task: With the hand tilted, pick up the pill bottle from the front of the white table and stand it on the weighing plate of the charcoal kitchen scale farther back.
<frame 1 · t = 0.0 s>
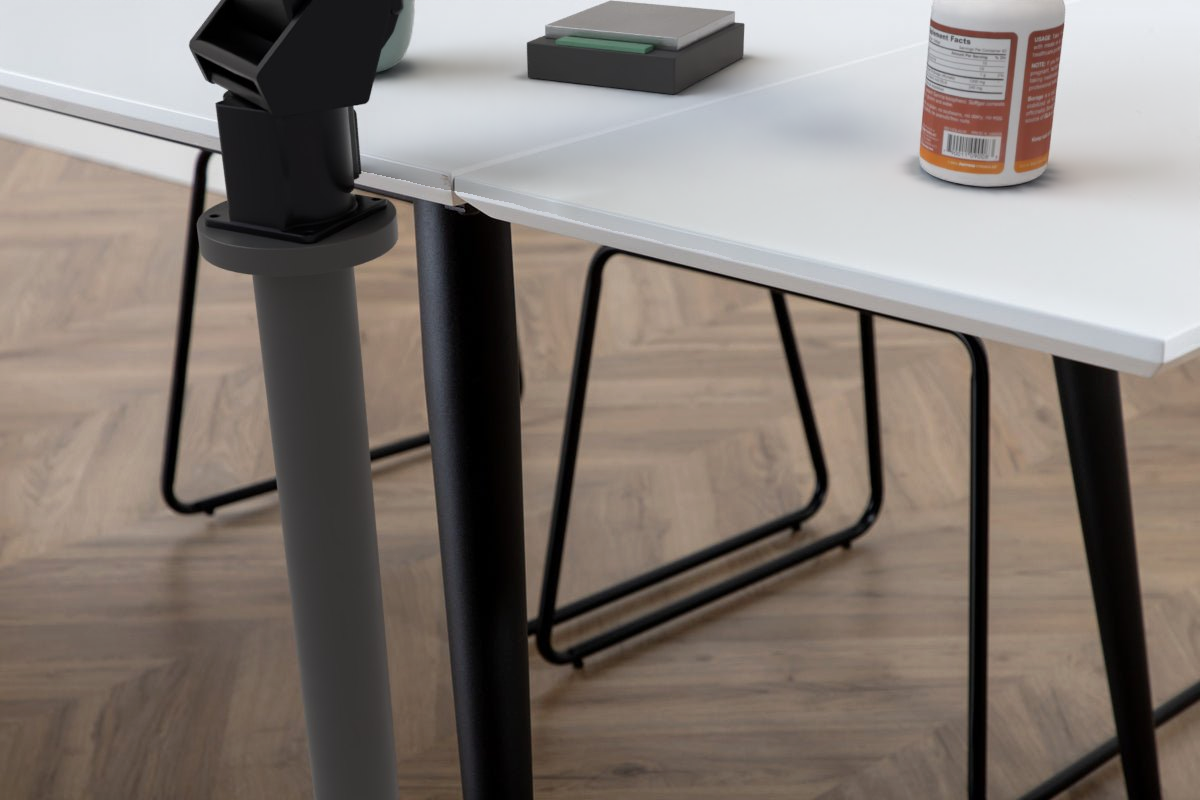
kitchen scale: (638, 67, 93), on the table
cup: (357, 71, 93), on the table
pill bottle: (980, 174, 72), on the table
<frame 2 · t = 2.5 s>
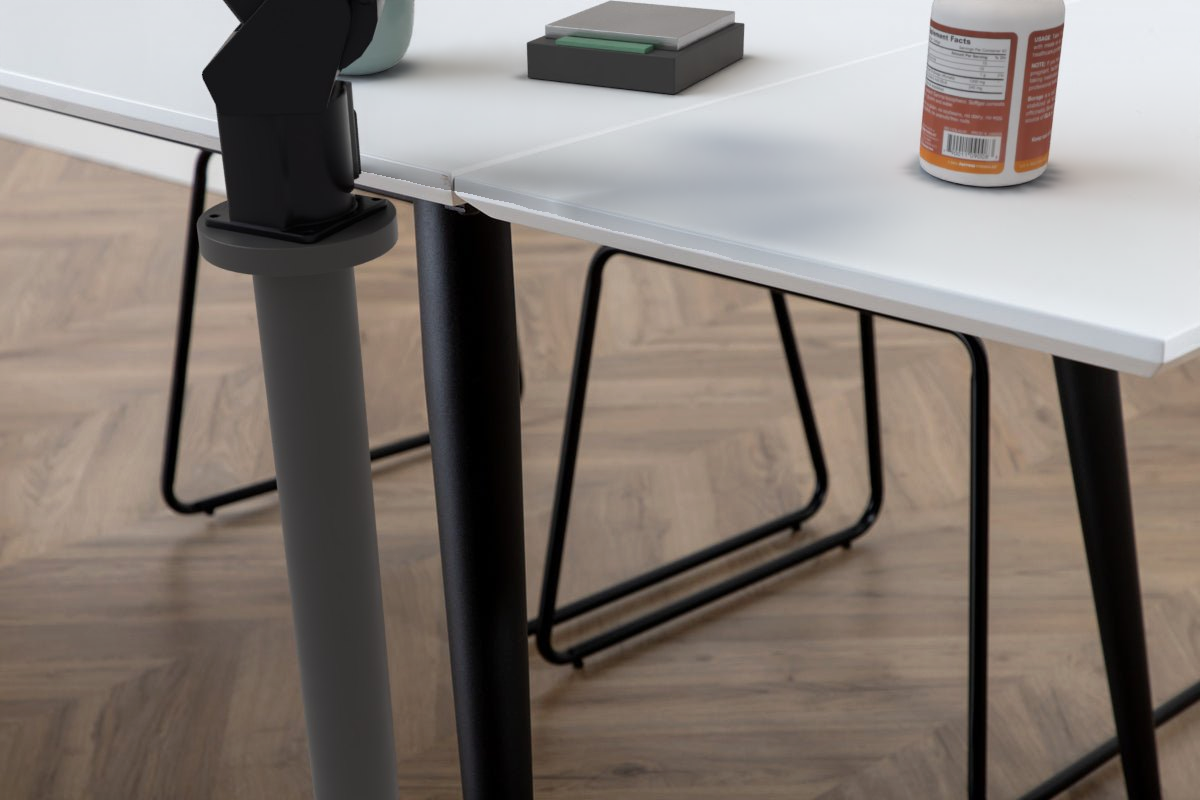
nothing on the table moved.
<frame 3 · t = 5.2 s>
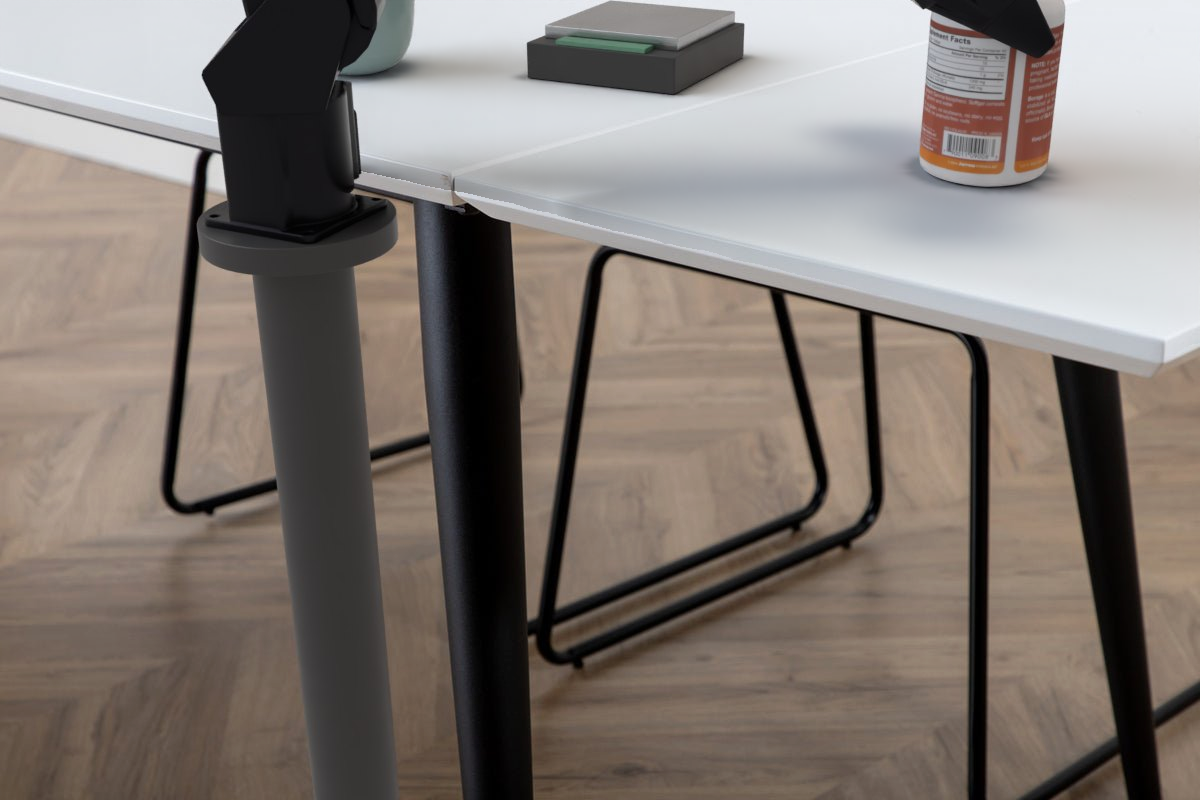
hand: (1024, 36, 69), 7 cm above the table, tool tilted 45°, fingers closed on pill bottle, 6 cm apart
pill bottle: (980, 174, 72), on the table, touching gripper
everything else where it was.
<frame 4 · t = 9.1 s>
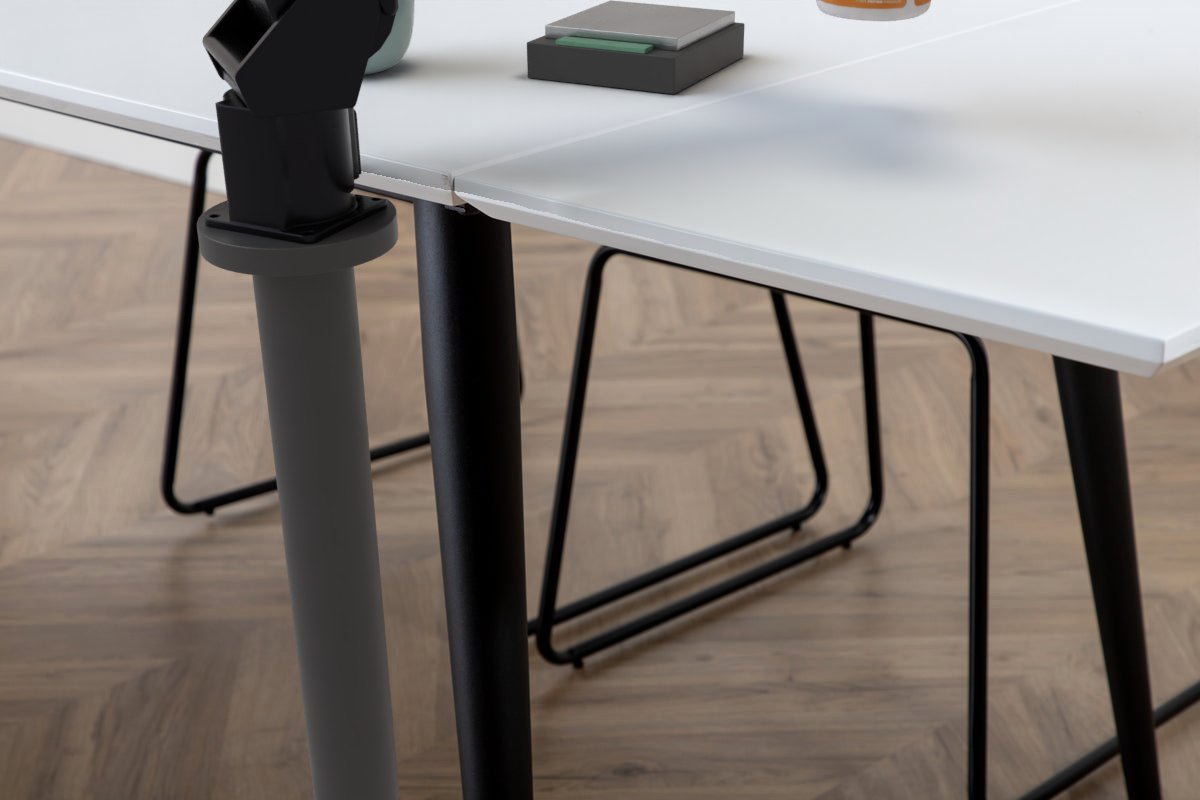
pill bottle: (871, 16, 79), point 6 cm above the table, touching gripper
everything else where it was.
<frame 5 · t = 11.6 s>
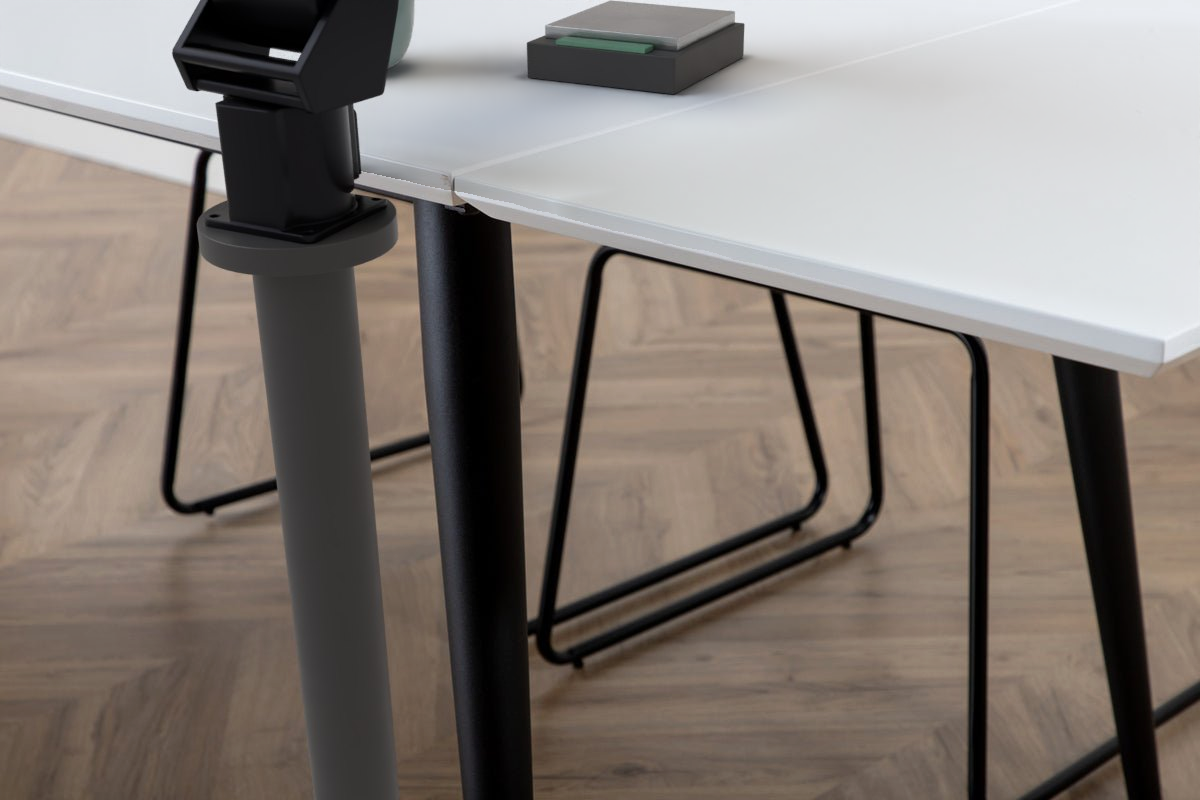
when the fingers open (10 cm above the table, at t = 13.3 s): pill bottle stays where it is, resting on kitchen scale.
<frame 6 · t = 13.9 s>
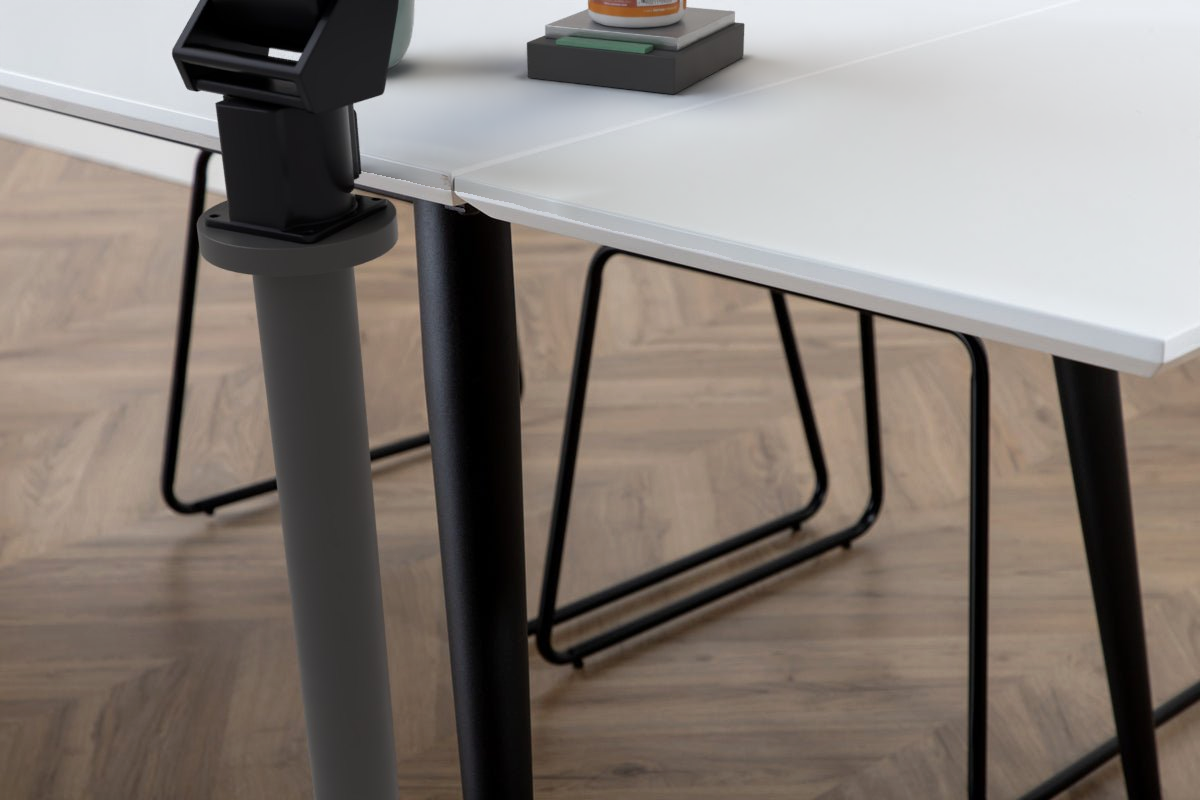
pill bottle: (637, 22, 92), point 3 cm above the table, touching kitchen scale
everything else where it was.
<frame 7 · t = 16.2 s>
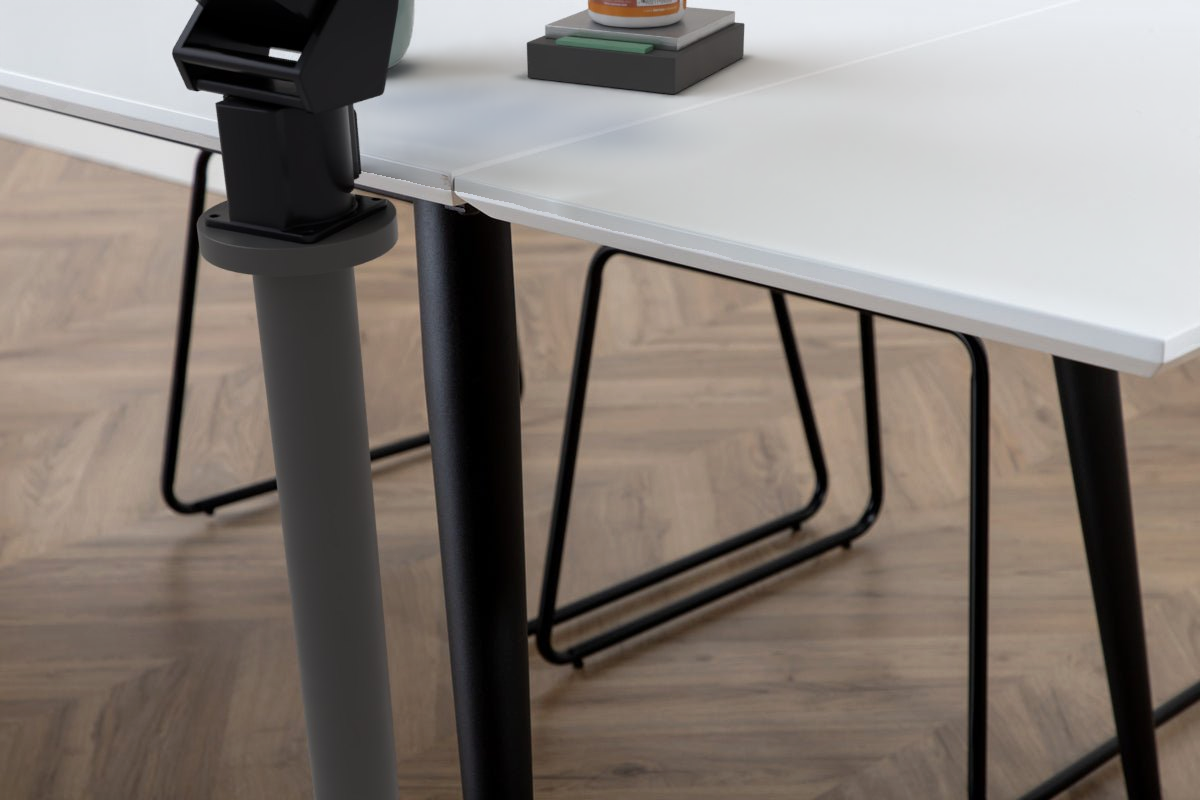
nothing on the table moved.
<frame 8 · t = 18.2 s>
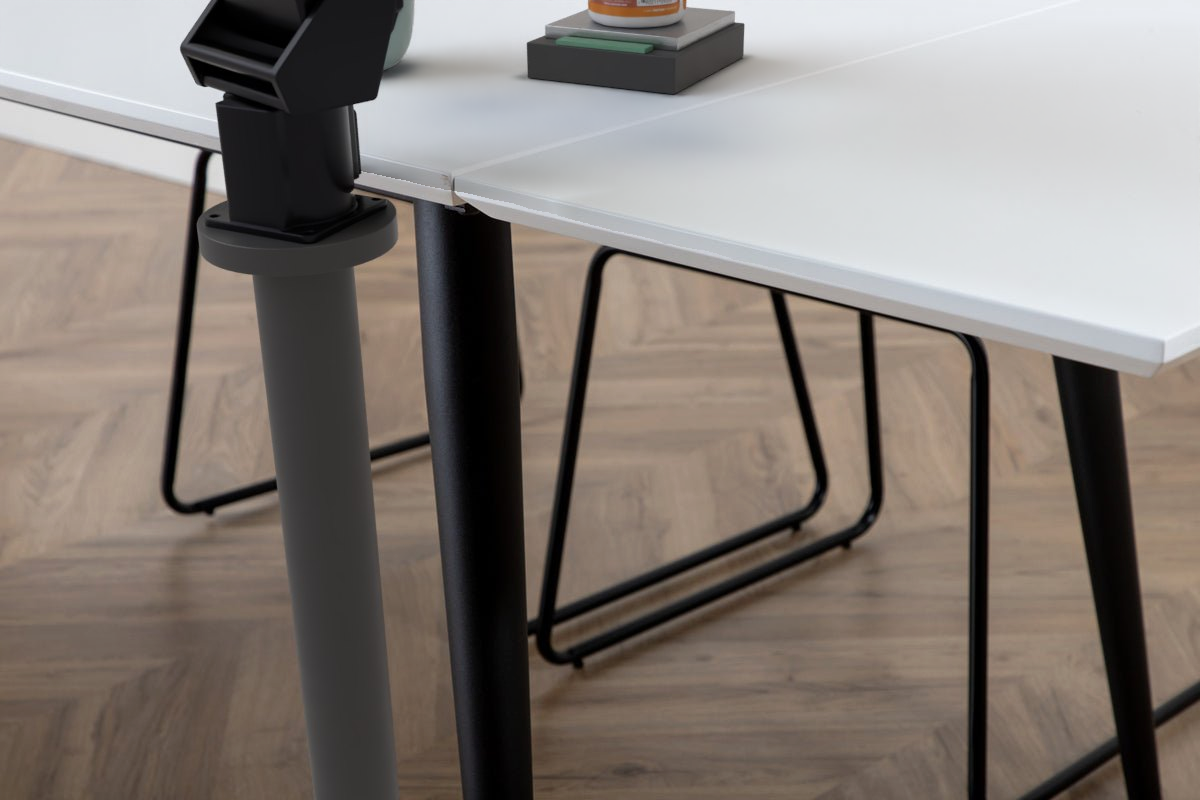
nothing on the table moved.
at the end: pill bottle inside the target area on the kitchen scale (0.8 cm from its centre), point 2.8 cm above the kitchen scale's base; pill bottle tilted 0°; the gripper is holding nothing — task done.
